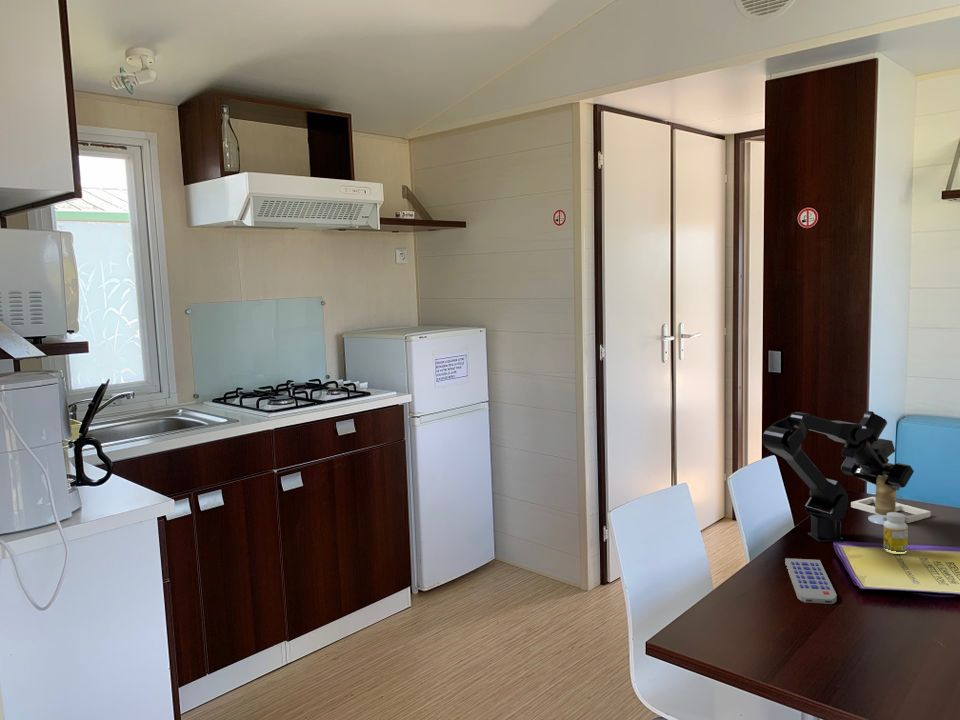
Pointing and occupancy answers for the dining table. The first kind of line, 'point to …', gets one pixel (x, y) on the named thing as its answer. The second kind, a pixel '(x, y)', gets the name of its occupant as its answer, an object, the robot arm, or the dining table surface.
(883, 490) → the plug
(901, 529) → the supplement bottle
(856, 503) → the holder
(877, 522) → the coaster
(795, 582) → the remote control
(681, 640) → the dining table surface
